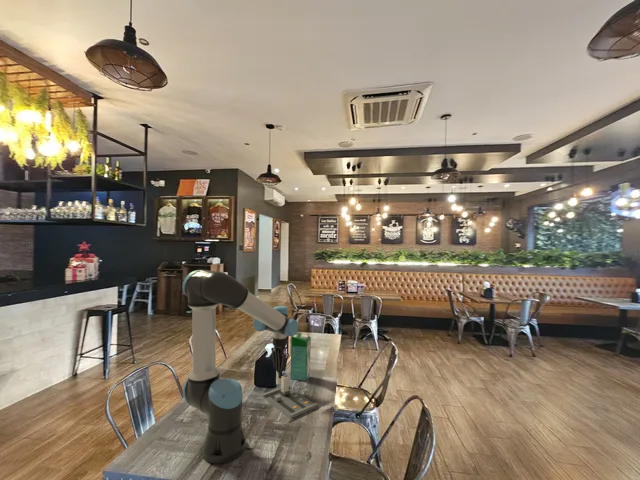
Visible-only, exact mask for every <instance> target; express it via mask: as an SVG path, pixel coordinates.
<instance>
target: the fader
mask: <svg viewBox="0 0 640 480" xmlns="http://www.w3.org/2000/svg"><path fill="white" fill-rule="evenodd" d="M289 385H290V376H289V375H288V374H285V375H283V376H282V377H281V384H280V388H281V390H279V392H280V393H281V394H283V395H284V396H285V395H288V394H291V391H289Z"/></svg>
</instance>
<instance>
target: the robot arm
mask: <svg viewBox="0 0 640 480" xmlns="http://www.w3.org/2000/svg"><path fill="white" fill-rule="evenodd" d="M182 291H183V293H184V295H185V296H186V297H187V306H188V307H189V309H191V310H192V313H191V314H192V316H191V317H192V324H191V325H192V331H191V332H192V337H191V338H192V341H191V342H192V349H191V350H192V354H191V355H192V369H191V371H190V372H189V373H188V377H187V379H186V382H184V383H183V387H182V396H183V399H184V400H185V402H186V403H187V404H188V405H189V406H191V407H192V408H195V409H197V410H198V411H200V412H201V413H203V414H205V415H206V416H207V417H208V420H207V421H208V424H207V427H208V428H207V429H208V430H207V432H206V435H205V437H204V438H205V439H204V441H203V443H202V449H201V451H202V453H201V454H202V458H203V459H204V460H205V461H206V462H208V463H211V464H217V465H219V464H220V465H221V464H226V463H229V462H232V461H234V460H236V459H238V458H239V457H240V456H242V454H243V453H244V451H245V450H246V446H247V445H246V443H247V438H246V436H245V433H244V432H245V431H244V428H243V426H242V414H243V413H242V412H243V388H242V385H241V383H240V382H239V381H237V380H236V379H233V378H228V377H227V378H226V377H225V378H223V377H222V378H221V375H220V374H221V373H220V369H219V368H218V366H217V365H216V364H217V357H216V355H217V351H216V349H217V347H216V346H217V343H216V341H217V340H216V335H217V334H216V331H217V330H216V329H217V328H216V327H217V325H216V316H217V315H216V314H217V313H216V308H217V307H218V306H219V305H223V306H226V307H228V308H231V309H232V310H239V311H241V312H242V313H245V314H246V315H248V316H250V317H251V318H253V328H254V330H256V331H257V332H264V331H267V332H272V346H273V347H271V348H270V350H271V354H272V355H271V356H272V364H273V368H274V370H275V385H279V386H280V385H281V377H282V376H284V374H283V373H284V372H286V370H287V365H288V364H287V363H288V360H289V359H288V358H289V356H290V354H289V353H288V352H287V349H286V348H287V347H286V346H288V337H291V336H294V335H295V334H296V333H297V332H298V330H299V322H298V321H297V320H296V319H294V318H289V307H287V306H286V305H276V306H274V307H272V306H271V305H269V304H267V303H266V302H265V301H263V300H262V299H260V298H259V297H257V296H256V295H254V294H253V293H251V292H250V291H249V288H248V287H247V286H245V285H244V284H242V282H240V281H239V280H237V279H235V278H234V277H232V276H231V275H229V274H227V273H225V272H222V271H217V270H216V271H215V270H208V269H197V270H193V271H191V272H189V274H188V275H186V276H185V277H184V280H183V283H182Z"/></svg>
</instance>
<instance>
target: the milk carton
mask: <svg viewBox="0 0 640 480" xmlns="http://www.w3.org/2000/svg"><path fill="white" fill-rule="evenodd" d="M290 338H291V340H290V343H291V344H290V376H289V380H295V381H305V382H306V381H307V380H308V379H310V377H311V344H312V343H311V341H312V339H311V338H312V337H311V336H309V335H307V334H304V333H300V332H298V331H297V333H296V334H295V335H294V336H290Z"/></svg>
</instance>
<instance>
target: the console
mask: <svg viewBox="0 0 640 480" xmlns="http://www.w3.org/2000/svg"><path fill="white" fill-rule="evenodd" d="M279 390H281V387H278V388H276V389H273V390H269V391H267V392H264V393H263V394H262V396H261V397H262V398H263V399H264V400H266V401H267V403H269V404H270V405H272V406H273V407H275V409H277V410H278V411H279V412H281V413H282V414H283V415H284V416H285V417H287V418H288V419H289V420H290V421H289V422H288V423H293V422H295V421H297V420H300V419H301V418H303V417H306V416H309V415H310V414H313V413H314V412H316V411H319V409H320V408H318V407H320V406H319V403H317V402H313V401H311V400H310V399H309V398H307V397H306V396H304V395H303V394H301V393H299V392H298V391H297V390H295V389H293V388H292V387H291V385H290V384H289V391H291V394H288V395H285V396H284V395H283V394H281V393H280V392H279ZM309 411H310V412H309ZM304 413H305V414H304Z"/></svg>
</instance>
